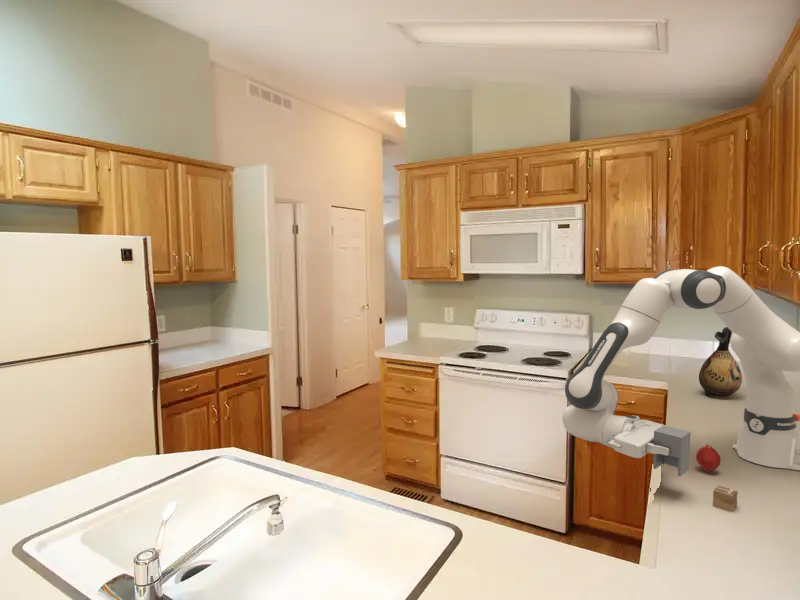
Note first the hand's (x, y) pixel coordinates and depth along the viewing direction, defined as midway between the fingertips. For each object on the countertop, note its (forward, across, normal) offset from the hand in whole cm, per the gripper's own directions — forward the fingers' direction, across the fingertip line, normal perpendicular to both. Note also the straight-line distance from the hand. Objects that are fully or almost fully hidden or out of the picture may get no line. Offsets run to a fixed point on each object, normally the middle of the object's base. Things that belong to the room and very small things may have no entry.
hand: (675, 447), depth 123 cm
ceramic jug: (-18, +108, +12) cm, 110 cm away
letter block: (+11, +3, +12) cm, 16 cm away
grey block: (-1, 0, +6) cm, 6 cm away
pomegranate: (+2, +21, +12) cm, 25 cm away
